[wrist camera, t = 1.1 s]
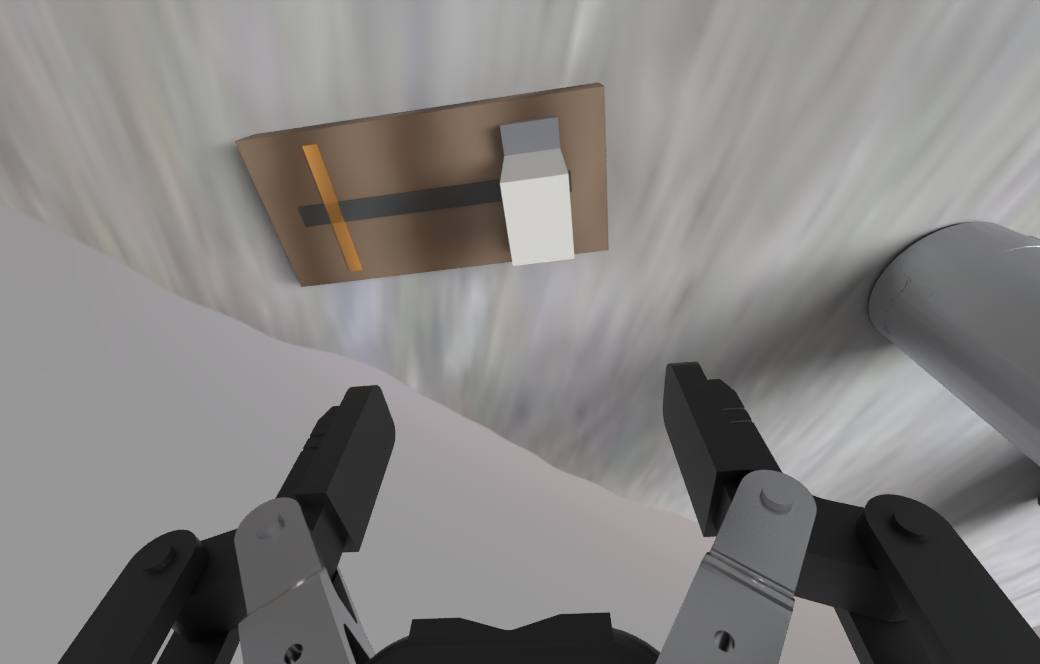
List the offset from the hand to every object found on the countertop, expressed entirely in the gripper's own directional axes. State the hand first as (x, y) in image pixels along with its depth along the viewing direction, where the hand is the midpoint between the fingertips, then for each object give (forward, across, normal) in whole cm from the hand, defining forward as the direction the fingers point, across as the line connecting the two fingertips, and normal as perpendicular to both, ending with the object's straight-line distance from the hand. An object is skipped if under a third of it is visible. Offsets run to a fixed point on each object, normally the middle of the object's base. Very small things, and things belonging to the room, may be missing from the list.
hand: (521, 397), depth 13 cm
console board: (+18, +5, -1) cm, 19 cm away
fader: (+16, -1, -1) cm, 16 cm away
